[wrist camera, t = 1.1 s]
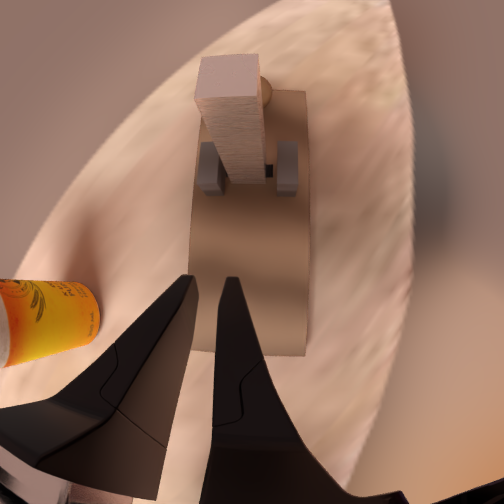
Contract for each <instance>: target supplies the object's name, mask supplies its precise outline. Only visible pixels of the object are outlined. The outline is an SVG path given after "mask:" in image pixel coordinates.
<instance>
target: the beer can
mask: <svg viewBox="0 0 504 504" xmlns="http://www.w3.org/2000/svg"><path fill="white" fill-rule="evenodd" d="M99 323H100V312H99V307H98V304H97V302H96V300H95V298H94V296H93V294H92V293H91V291H90V290H89V289H88V288H87V287H86V286H84V285H83V284H81V283H78V282H62V281H34V280H11V279H0V369H3V368H7V367H11V366H14V365H18V364H22V363H26V362H29V361H33V360H36V359H40V358H44V357H47V356H51V355H54V354H58V353H61V352H65V351H68V350H71V349H75V348H78V347H81V346H85V345H87V344H89V343H90V342H92V341H93V339H94V338H95V336H96V335H97V332H98V329H99Z"/></svg>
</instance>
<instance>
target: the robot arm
mask: <svg viewBox="0 0 504 504" xmlns="http://www.w3.org/2000/svg"><path fill="white" fill-rule="evenodd" d="M198 301H199V291H198V287H197V282H196V278H195V276H194V275H187V274H183V275H181V276H180V277H179V278H178V279H177V280H176V281H175V282H174V283H173V284H172V285H171V286H170V287H169V288H168V289H167V290H166V291H165V292H163V293H162V294H161V295H160V296H159V297H158V298H157V299H156V300H155V301H154V302H153V303H152V304H151V305H150V306H149V307H148V308H147V309H146V310H145V311H144V312H143V313H142V314H141V315H140V316H139V317H138V318H137V319H136V320H135V321H134V322H133V323H132V324H131V325H130V326H129V327H128V328H127V329H126V330H125V331H124V332H123V333H122V334H121V336H120V337H119V338H118V339H117V340H116V341H115V343H113V344H112V345H111V346H110V347H109V348H108V349H107V350H106V351H105V352H104V353H103V354H102V355H101V356H100V357H99V358H98V359H97V360H96V361H94V362H93V363H92V364H91V365H90V366H89V367H88V368H87V369H86V370H84V371H83V372H82V373H81V374H80V375H79V376H77V377H76V378H75V379H74V380H73V381H71V382H70V383H69V384H68V385H67V386H66V387H64V388H63V389H62V390H61V391H60V392H58V393H57V394H56V395H54V396H52V397H50V398H48V399H45V400H42V401H37V402H32V403H27V404H22V405H17V406H12V407H6V408H0V504H132V502H133V497H134V498H140V499H147V500H154V501H156V499H157V494H158V489H159V484H160V479H161V474H162V470H163V465H164V460H165V456H166V451H167V449H166V448H167V446H168V441H169V437H170V432H171V428H172V424H173V419H174V415H175V411H176V407H177V402H178V398H179V394H180V390H181V386H182V382H183V378H184V374H185V370H186V366H187V362H188V358H189V354H190V350H191V346H192V342H193V337H194V330H195V322H196V315H197V308H198ZM212 427H213V428H212V440H211V449H210V454H209V458H208V463H207V468H206V473H205V477H204V482H203V487H202V492H201V497H200V501H199V504H409V502H408V501H407V499H406V498H405V496H404V494H403V492H402V491H394V492H390V493H385V494H380V495H375V496H368V497H358V496H353V495H351V494H349V493H347V492H346V491H345V490H344V489H342V487H341V486H340V485H339V484H338V483H337V482H336V481H335V480H334V479H333V477H332V476H331V475H330V474H329V473H328V472H327V471H326V470H325V468H324V467H323V466H322V465H321V464H320V463H319V462H318V460H317V459H316V458H315V457H314V456H313V455H312V453H311V452H310V451H309V449H308V448H307V447H306V445H305V444H304V442H303V440H302V439H301V437H300V435H299V434H298V432H297V430H296V428H295V426H294V424H293V423H292V421H291V419H290V417H289V415H288V413H287V411H286V409H285V407H284V405H283V403H282V402H281V400H280V397H279V395H278V393H277V391H276V389H275V387H274V385H273V382H272V379H271V376H270V374H269V371H268V368H267V365H266V362H265V360H264V356H263V353H262V350H261V346H260V343H259V340H258V337H257V334H256V331H255V327H254V324H253V321H252V318H251V315H250V311H249V308H248V305H247V302H246V298H245V295H244V292H243V289H242V285H241V282H240V279H239V277H235V276H227V277H226V279H225V282H224V286H223V289H222V293H221V296H220V300H219V304H218V312H217V329H216V347H215V366H214V389H213V416H212ZM432 504H504V478H501V479H499V480H496V481H493V482H491V483H488V484H485V485H482V486H479V487H476V488H473V489H471V490H468V491H465V492H463V493H460V494H457V495H454V496H452V497H449V498H447V499H444V500H441V501H438V502H435V503H432Z"/></svg>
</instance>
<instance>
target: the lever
mask: <svg viewBox="0 0 504 504" xmlns="http://www.w3.org/2000/svg"><path fill="white" fill-rule="evenodd" d="M194 100H195V102H196V104H197V106H198V109H199V111H200V113H201V115H202V118H203V120H204V122H205V124H206V127H207V129H208V131H209V133H210V136H211V138H212V140H213V142H214V145H215V147H216V149H217V151H218V154H219V156H220V158H221V160H222V163H223V165H224V167H225V169H226V177H229V179H230V181H231V183H232V184H266V178H273V164H266V142H265V129H264V116H263V104H262V92H261V80H260V69H259V58H258V54H237V55H221V56H209V57H202V58H201V63H200V68H199V74H198V79H197V85H196V91H195V97H194Z"/></svg>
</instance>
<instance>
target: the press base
mask: <svg viewBox="0 0 504 504" xmlns="http://www.w3.org/2000/svg"><path fill="white" fill-rule="evenodd" d="M260 80H261V92H262V104H263V116H264V129H265V142H266V164H273V178H266V184H232V183H231V181H230V179H229V177H226V169H225V167H224V165H223V163H222V160H221V158H220V156H219V154H218V151H217V149H216V147H215V145H214V142H213V140H212V138H211V136H210V133H209V131H208V129H207V127H206V124H205V122H204V120H203V118H202V117H201V125H200V133H199V141H198V150H197V159H196V169H195V179H194V190H193V201H192V214H191V228H190V243H189V262H188V275H194V276H195V278H196V282H197V287H198V291H199V301H198V308H197V315H196V322H195V330H194V337H193V342H192V346H191V350H195V351H205V352H215V347H216V329H217V312H218V304H219V300H220V296H221V293H222V289H223V286H224V282H225V279H226V277H227V276H235V277H239V279H240V282H241V285H242V289H243V292H244V295H245V298H246V302H247V305H248V308H249V311H250V315H251V318H252V321H253V324H254V327H255V331H256V334H257V337H258V340H259V343H260V346H261V350H262V353H263V355H265V356H305V353H306V337H307V318H308V295H309V260H310V181H309V147H308V124H307V107H306V91H286V90H272V87H271V85H270V83H269V82H268V81H267V80H266V79H265V78H263V77H262V76H260Z"/></svg>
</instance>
